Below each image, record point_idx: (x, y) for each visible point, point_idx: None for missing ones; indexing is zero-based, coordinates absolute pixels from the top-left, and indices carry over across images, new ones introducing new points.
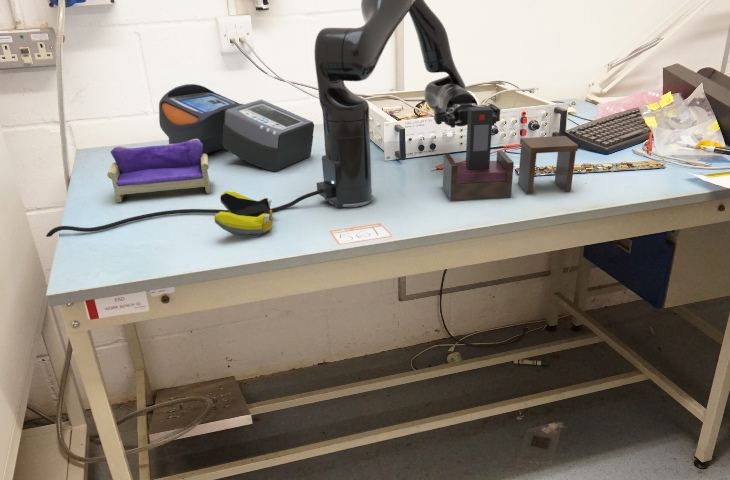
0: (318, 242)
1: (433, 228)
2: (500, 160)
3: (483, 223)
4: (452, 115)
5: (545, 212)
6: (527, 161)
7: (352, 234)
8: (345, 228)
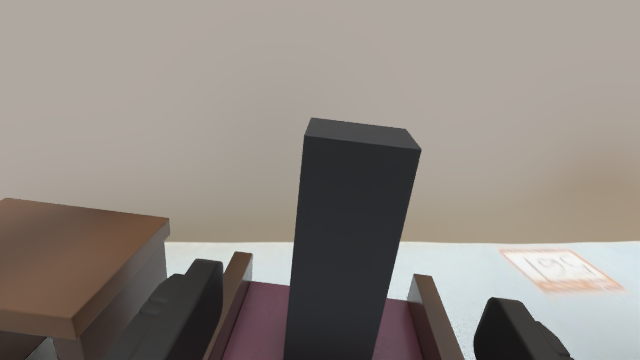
0: (609, 261)
1: (437, 255)
2: (224, 338)
3: None
4: (534, 343)
5: (219, 253)
6: (151, 288)
7: (571, 269)
8: (601, 290)
